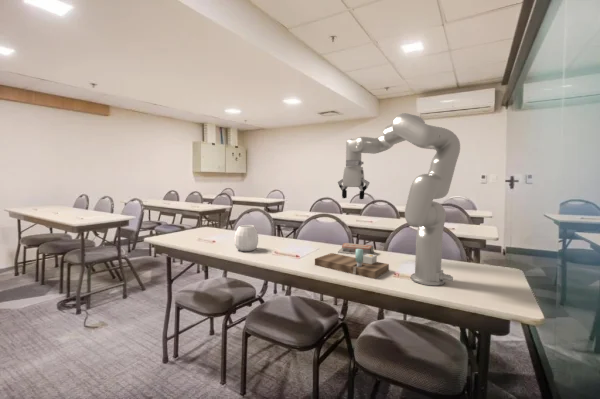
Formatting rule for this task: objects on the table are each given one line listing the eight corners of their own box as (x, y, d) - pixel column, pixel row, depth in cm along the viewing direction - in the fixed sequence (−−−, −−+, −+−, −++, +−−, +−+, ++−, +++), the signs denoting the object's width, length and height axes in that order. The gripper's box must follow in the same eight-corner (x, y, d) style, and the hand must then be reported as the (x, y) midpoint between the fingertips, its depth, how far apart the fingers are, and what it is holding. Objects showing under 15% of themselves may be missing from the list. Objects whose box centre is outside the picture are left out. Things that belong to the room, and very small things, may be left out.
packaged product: (374, 244, 167) (371, 248, 157) (374, 252, 167) (371, 257, 158) (342, 241, 174) (337, 244, 165) (342, 249, 174) (337, 253, 165)
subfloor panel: (388, 270, 133) (389, 263, 133) (374, 279, 122) (374, 271, 122) (331, 258, 152) (331, 252, 152) (314, 265, 141) (314, 258, 141)
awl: (364, 272, 131) (364, 249, 130) (360, 274, 128) (361, 250, 128) (357, 270, 133) (357, 248, 132) (353, 272, 130) (354, 249, 130)
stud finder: (376, 262, 135) (376, 255, 135) (371, 264, 131) (371, 257, 131) (364, 259, 139) (364, 252, 139) (359, 262, 135) (359, 254, 135)
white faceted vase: (230, 249, 171) (230, 225, 170) (251, 246, 179) (250, 223, 178) (241, 253, 161) (241, 228, 160) (262, 250, 169) (262, 226, 168)
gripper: (372, 164, 148) (372, 199, 149) (342, 164, 159) (341, 197, 160) (365, 163, 142) (365, 199, 143) (334, 164, 153) (334, 198, 154)
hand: (352, 198), depth 152 cm, fingers open, 9 cm apart
